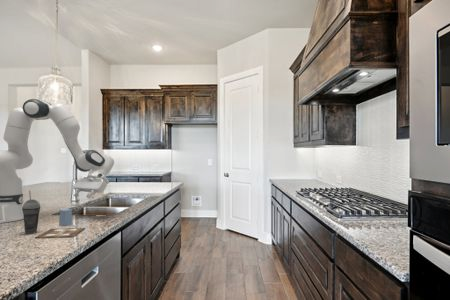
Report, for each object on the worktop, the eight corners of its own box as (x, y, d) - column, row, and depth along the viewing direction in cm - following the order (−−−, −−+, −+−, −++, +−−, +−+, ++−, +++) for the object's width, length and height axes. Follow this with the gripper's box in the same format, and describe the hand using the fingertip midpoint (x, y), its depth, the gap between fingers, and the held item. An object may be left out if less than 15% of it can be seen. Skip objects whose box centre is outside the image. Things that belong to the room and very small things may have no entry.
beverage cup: (30, 235, 126) (31, 191, 127) (17, 234, 128) (18, 191, 128) (43, 230, 134) (44, 189, 134) (31, 229, 135) (32, 189, 135)
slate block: (64, 226, 142) (65, 210, 142) (59, 225, 144) (59, 210, 144) (71, 224, 146) (71, 209, 146) (66, 223, 147) (66, 208, 148)
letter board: (35, 238, 122) (35, 237, 122) (50, 229, 136) (50, 228, 136) (73, 237, 124) (73, 236, 124) (85, 228, 138) (85, 227, 138)
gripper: (79, 173, 165) (64, 192, 156) (106, 175, 158) (92, 194, 149) (85, 180, 169) (71, 198, 160) (111, 182, 162) (98, 201, 153)
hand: (81, 196), depth 154 cm, fingers open, 8 cm apart
